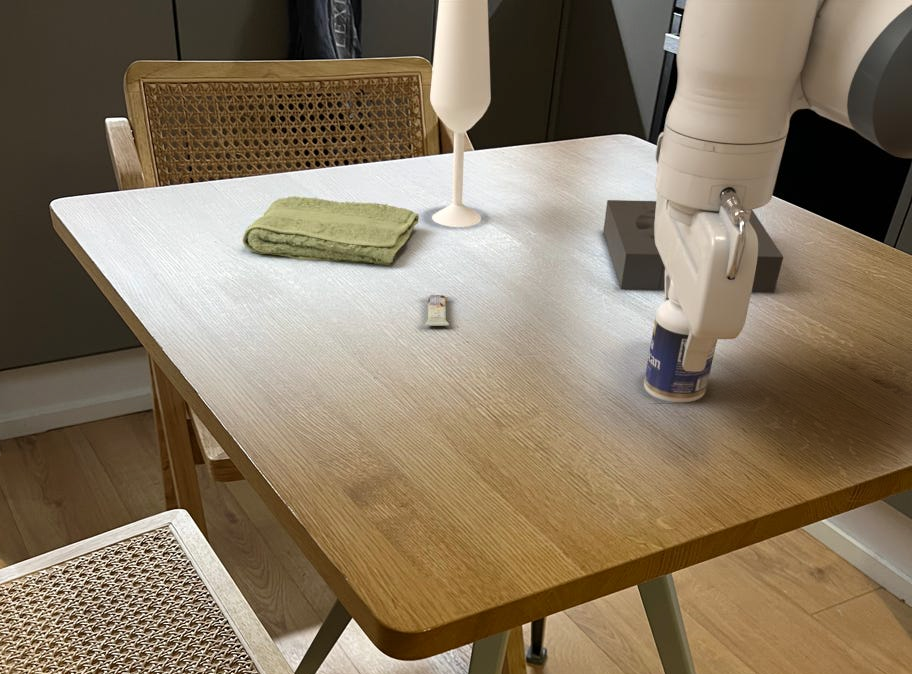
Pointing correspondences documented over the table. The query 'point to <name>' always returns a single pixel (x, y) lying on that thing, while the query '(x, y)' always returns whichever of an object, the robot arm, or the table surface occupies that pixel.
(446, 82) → the champagne flute
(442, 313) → the granola bar
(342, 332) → the table surface
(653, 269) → the block
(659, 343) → the pill bottle
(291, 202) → the washcloth
